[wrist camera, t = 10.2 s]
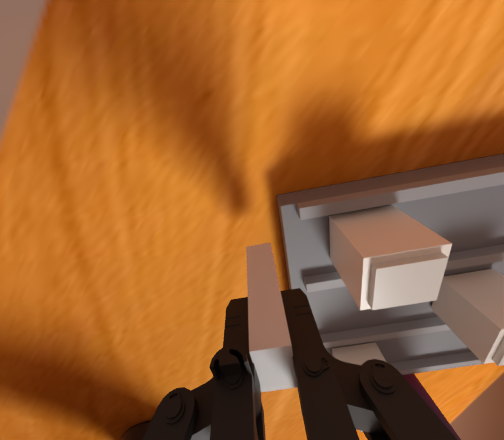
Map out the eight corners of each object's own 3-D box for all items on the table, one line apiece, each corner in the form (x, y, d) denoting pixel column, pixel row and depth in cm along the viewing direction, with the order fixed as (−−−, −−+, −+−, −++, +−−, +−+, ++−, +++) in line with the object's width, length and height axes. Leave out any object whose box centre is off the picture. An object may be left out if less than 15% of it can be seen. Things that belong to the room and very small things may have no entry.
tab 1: (332, 369, 22) (354, 434, 18) (332, 348, 20) (356, 413, 16) (372, 364, 22) (405, 427, 17) (375, 342, 20) (412, 406, 16)
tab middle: (431, 308, 18) (489, 370, 14) (439, 277, 17) (508, 335, 12) (479, 301, 18) (554, 361, 14) (493, 268, 17) (582, 325, 12)
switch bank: (299, 360, 25) (305, 388, 22) (276, 195, 16) (282, 211, 13) (483, 333, 24) (511, 359, 21) (571, 141, 15) (639, 147, 12)
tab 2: (330, 259, 16) (364, 316, 11) (329, 215, 14) (368, 263, 10) (386, 249, 16) (443, 304, 11) (392, 205, 14) (460, 248, 10)
